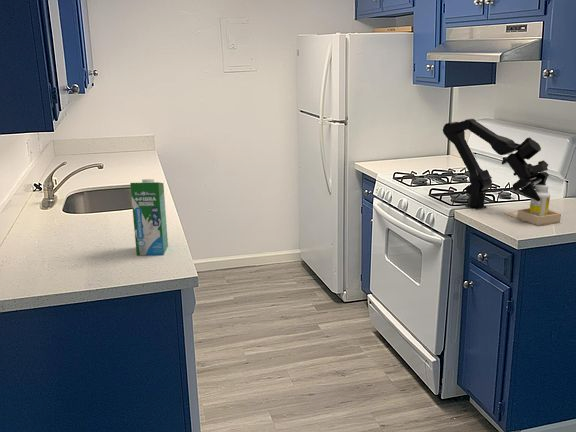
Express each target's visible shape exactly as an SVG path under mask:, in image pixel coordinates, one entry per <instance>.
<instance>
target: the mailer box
mask: <svg viewBox="0 0 576 432" xmlns="http://www.w3.org/2000/svg"><path fill="white" fill-rule="evenodd" d="M529 211H530V207H529V208H522V209H517V211H516V210H515V211H510V212H508V211H507V212H504V213H503V214H504V215H505V216H510V217H512V218H515V219H516V220H520V221H523V222H526V223H529V224H531V225H534V226H537V227H539V226H548V225H553V224H558V223H561V218H562V213H560V212H556V211H553V210H550V209H548V215H546V216H540V217H539V216H536V215H533V214H530V213H529Z"/></svg>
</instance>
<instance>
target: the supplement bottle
mask: <svg viewBox="0 0 576 432" xmlns="http://www.w3.org/2000/svg"><path fill="white" fill-rule="evenodd" d="M534 186H535V190H536V192H537V194H538V196H539V197H540V201H536V200H535V199H533V198H531V197H530V203H529V208H530V211H529V213H530V214H533V215H536V216H539V217H540V216H546V215H548V210H549V208H550V207H549V206H550V198H551V195H550V192H549V186H548V185H547V184H546V185H534ZM547 190H548V192H547Z"/></svg>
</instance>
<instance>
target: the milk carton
mask: <svg viewBox="0 0 576 432" xmlns="http://www.w3.org/2000/svg"><path fill="white" fill-rule="evenodd" d="M129 185H130V194H131V196H130V197H131V209H132V218H133V229H134V239H135V250H136V256H164V255H165V253H166V251H167V249H168V247H169V242H168V241H169V240H168V239H169V238H168V228H167V214H166V199H165V186H164V182H158V181H157V182H155V179H153V178H145V179H142V180H141V182H131V183H130V184H129Z"/></svg>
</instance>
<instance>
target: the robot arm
mask: <svg viewBox="0 0 576 432" xmlns="http://www.w3.org/2000/svg"><path fill="white" fill-rule="evenodd" d="M467 130H468V131H469V132H471V133H473V134H474V135H476V137H477V136H478V137H479V138H480V139H482V140H483V141H485V142H486V143H488V144H489V145H490V147H491V149H492V150H493V151H494V152H495V153H496V154H497V155H499V156H504V157H502V161H501V165H506V164H508V166H509V167H510V168H511V169H512V171H513V176H516V177H518V180H517V181H516V182H514V183H513V184H512V187H511V188H512V190H513V191H514V192H519V193H522V194H523V195H526V196H527V197H529V198H530V199H531V198H533V199H535V200H536V201H540V197H539V196H538V194H537V192H536V190H535V185H546V186H547V180H548V177H550V174H549V173H548V172H547V171H548V170H549V168H548V166H549V164H548V163H547V161H545V159H544V160H540V161H538V162H537V164H535V165H532V164H531V163H528V162H527V161H526V160H531V158H533V157H534V156H535V155H537V154H538V153H539V152H541V150H542V148H541V145H540V144H539V143H538V142H537V141H536V140H534V139H533V138H532V137H526V138H525V139H524V140H523V141H522V142H521V143H517V142H515V141H514V140H513V139H511V138H509V137H506V136H502V135H499V134H497V133H495V132H494V131H493V130H491V129H489V128H487V127H486V126H484V125H483V124H481V123H479V122H478V121H477V120H476V119H475V118H468V119H464V120H462V121H454V122H452V121H451V122H447V123H444V125H443V129H442V133H443V135H444V136H445V137H446V139H447V140H448V141H450V142H451V143H452V144H453V145H454V147H455V149H456V150H457V152H458V154H459V156H460V158H461V160H462V162H463V164H464V166H465V168H466V169H467V171H468V173H469V182H470V184H469V185H468V186H467V187H466V188H465V193H466V194H468V197H467V198H468V199H467V204H464V206H465V207H467V208H470V209H472V210H478V209H485V208H487V206H486V205H485V201H486V200H485V193H487V192H488V190H489V188H491V187H492V184H493V180H492V179H493V177H492V176H491V175H490V173H489V170H488V169H485V170H483V169H482V168H481V166H480V165H479V163H478V161H477V159H476V158H475V155H474V154H473V152H472V150H471V148H470V146H469V144H468V143H467V141H466V138H465V137H466V135H465V134H466V132H465V131H467ZM505 155H507V156H505ZM547 192H548V193H549V189H548V190H547Z"/></svg>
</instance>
